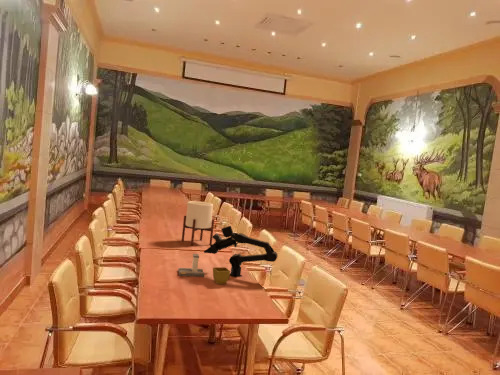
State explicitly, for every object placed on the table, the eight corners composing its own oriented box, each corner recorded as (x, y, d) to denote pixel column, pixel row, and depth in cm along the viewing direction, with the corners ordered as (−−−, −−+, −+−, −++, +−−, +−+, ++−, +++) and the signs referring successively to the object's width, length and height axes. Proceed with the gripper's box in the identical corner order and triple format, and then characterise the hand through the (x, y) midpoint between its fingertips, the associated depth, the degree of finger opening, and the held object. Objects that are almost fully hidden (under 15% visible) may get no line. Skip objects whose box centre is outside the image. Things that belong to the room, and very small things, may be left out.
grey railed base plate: (202, 271, 286) (202, 267, 286) (204, 276, 275) (204, 273, 274) (178, 270, 282) (178, 266, 282) (179, 275, 271) (179, 272, 271)
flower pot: (211, 281, 267) (212, 267, 266) (224, 280, 270) (225, 267, 270) (215, 285, 259) (217, 271, 258) (228, 285, 262) (230, 271, 262)
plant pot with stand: (213, 245, 373) (217, 205, 371) (190, 246, 360) (194, 204, 358) (201, 239, 392) (205, 201, 389) (179, 240, 379) (183, 200, 376)
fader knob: (196, 269, 282) (198, 254, 282) (197, 272, 276) (199, 256, 275) (191, 269, 282) (192, 253, 281) (192, 272, 275) (193, 256, 275)
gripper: (225, 229, 295) (205, 237, 298) (219, 233, 277) (197, 242, 279) (231, 244, 295) (211, 252, 297) (225, 249, 276) (203, 257, 279)
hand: (205, 250), depth 288 cm, fingers open, 9 cm apart
